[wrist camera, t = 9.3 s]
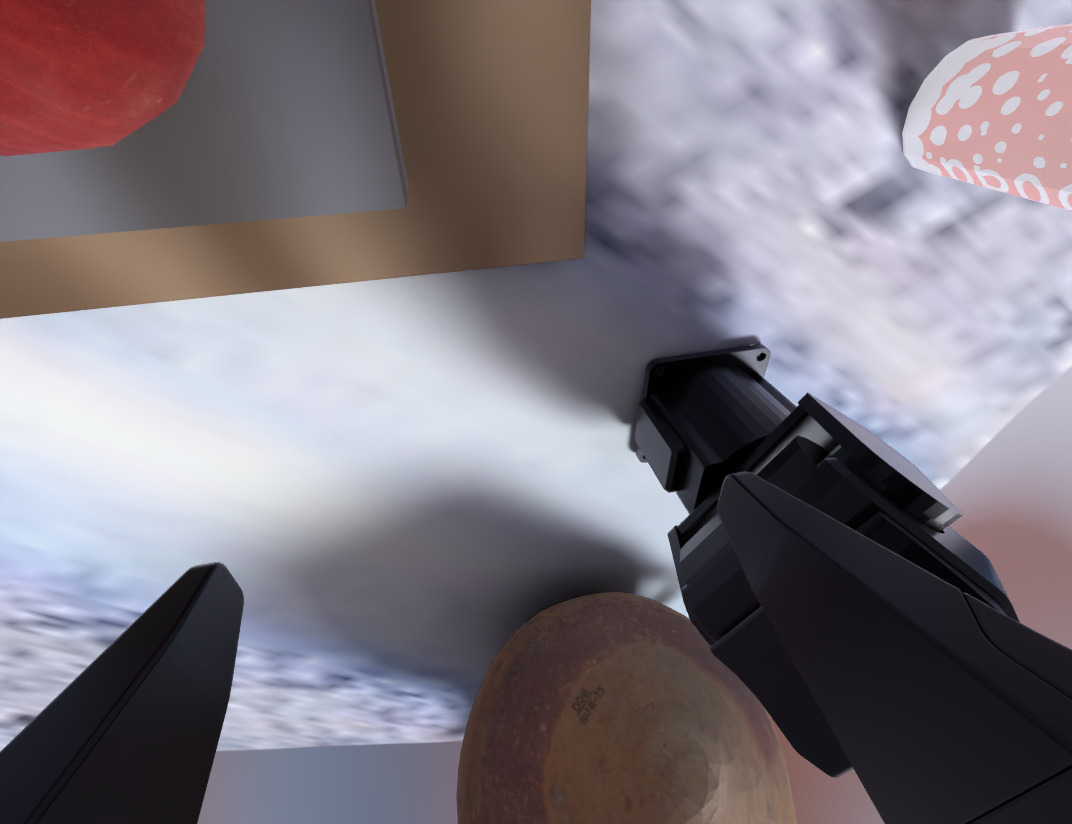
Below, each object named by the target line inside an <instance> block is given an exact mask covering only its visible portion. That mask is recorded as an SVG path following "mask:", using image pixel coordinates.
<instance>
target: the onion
mask: <svg viewBox="0 0 1072 824" xmlns="http://www.w3.org/2000/svg"><path fill="white" fill-rule="evenodd" d="M204 46H205V0H0V155H2V156H15V155H26V154H37V153H48V152H59V151H70V150H81V149H90V148H97V147H105V146H112V145H114V144H116V143H117V142H119V141H120V140H122V139H123V138H125V137H126V136H128V135H129V134H131V133H132V132H134V131H135V130H137V129H138V128H140V127H141V126H143V125H144V124H146V123H147V122H149V121H150V120H152V119H153V118H155V117H156V116H158V115H159V114H161V113H162V112H164V111H165V110H167V109H168V108H169V107H171V106H172V105H173V104H175V103H176V102H177V101H178V99H179V97H180V95H181V93H182V91H183V89H184V87H185V85H186V83H187V81H188V79H189V77H190V75H191V73H192V71H193V69H194V67H195V65H196V63H197V61H198V58H199V56H200V54H201V52H202V50H203V48H204Z"/></svg>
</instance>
